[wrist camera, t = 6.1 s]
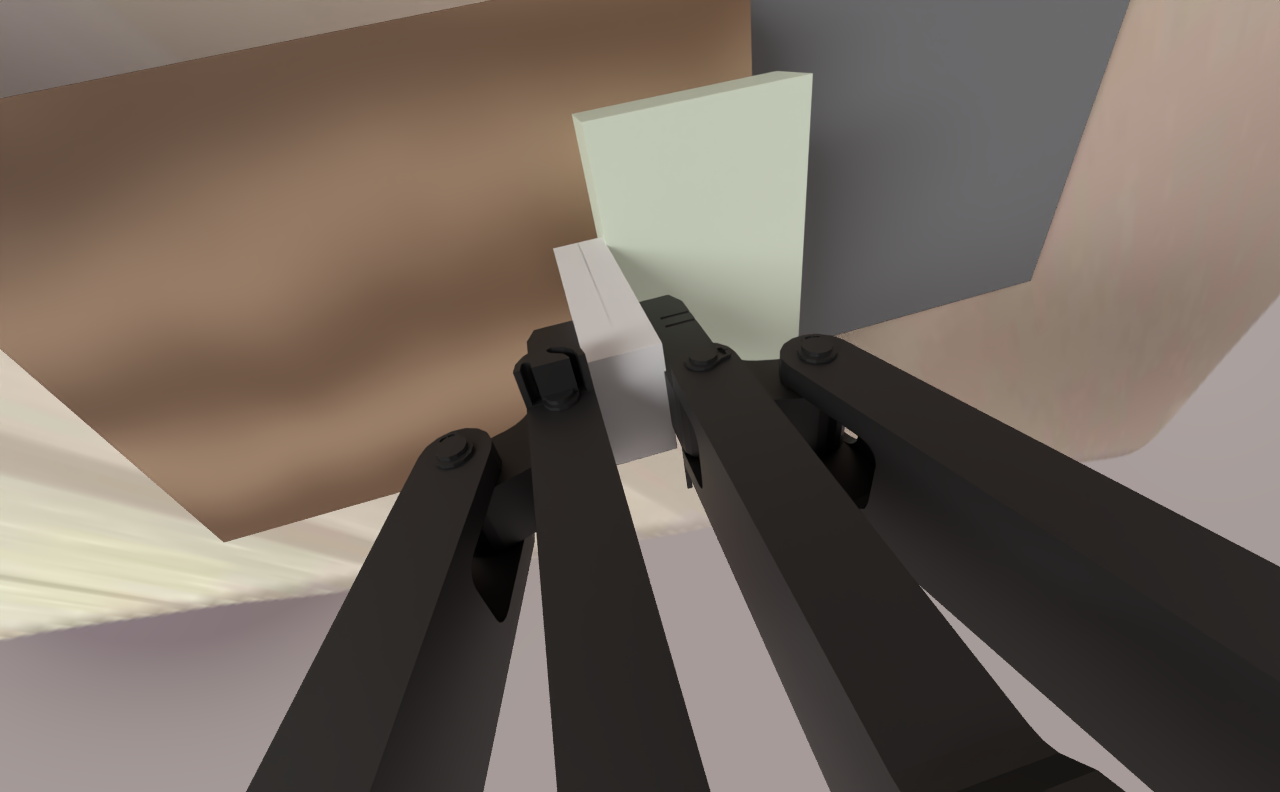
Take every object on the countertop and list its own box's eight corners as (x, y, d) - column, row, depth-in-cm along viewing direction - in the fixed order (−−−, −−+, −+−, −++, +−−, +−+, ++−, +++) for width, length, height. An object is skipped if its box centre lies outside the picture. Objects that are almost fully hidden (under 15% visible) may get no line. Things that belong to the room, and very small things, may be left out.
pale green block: (571, 113, 13) (581, 122, 12) (776, 70, 14) (812, 73, 12) (626, 378, 19) (638, 409, 17) (772, 340, 19) (796, 365, 18)
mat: (725, -79, 15) (730, -82, 14) (1177, -167, 16) (1190, -171, 16) (743, 355, 24) (746, 360, 24) (1023, 277, 26) (1030, 280, 25)
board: (-60, 123, 13) (-235, 145, 10) (697, -30, 15) (749, -52, 12) (263, 470, 22) (223, 542, 19) (723, 344, 24) (758, 389, 20)
